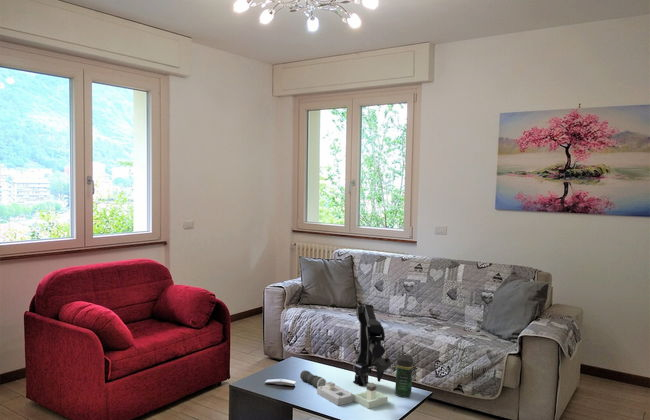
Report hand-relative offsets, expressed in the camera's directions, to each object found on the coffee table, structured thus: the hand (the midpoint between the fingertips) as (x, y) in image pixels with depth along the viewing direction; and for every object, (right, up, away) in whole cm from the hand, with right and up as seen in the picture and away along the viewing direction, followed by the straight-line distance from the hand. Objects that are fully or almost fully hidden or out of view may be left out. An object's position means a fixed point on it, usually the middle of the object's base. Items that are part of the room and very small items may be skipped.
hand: (371, 383), depth 237 cm
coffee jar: (+17, -10, +13) cm, 23 cm away
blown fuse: (0, -8, 0) cm, 8 cm away
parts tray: (-1, -9, +1) cm, 9 cm away
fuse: (-20, -8, +7) cm, 22 cm away
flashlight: (-28, -7, +19) cm, 35 cm away
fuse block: (-17, -8, +4) cm, 19 cm away
